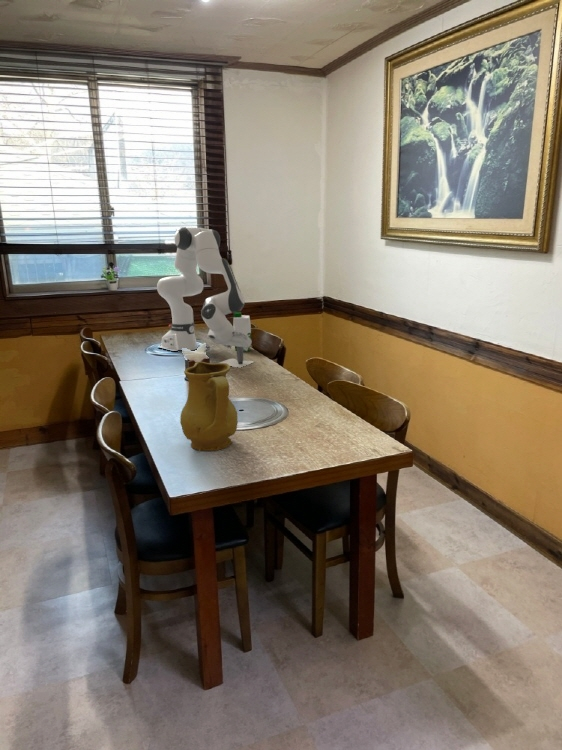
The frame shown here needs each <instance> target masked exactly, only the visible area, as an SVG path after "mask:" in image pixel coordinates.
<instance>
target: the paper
mask: <svg viewBox="0 0 562 750" xmlns="http://www.w3.org/2000/svg"><path fill="white" fill-rule="evenodd" d="M219 363H226V364H229V365H230V366H232V367H231V368H237V367H238V369H241V367H242V368H243V366H244V367H247V366H249V365H251V363H252V364H254V363H255V361H252V360H245V359H244V361H243V364H238V361H237V359H236V358H228V359H225V360H222V361H221V362H219ZM246 365H247V366H246Z"/></svg>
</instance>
